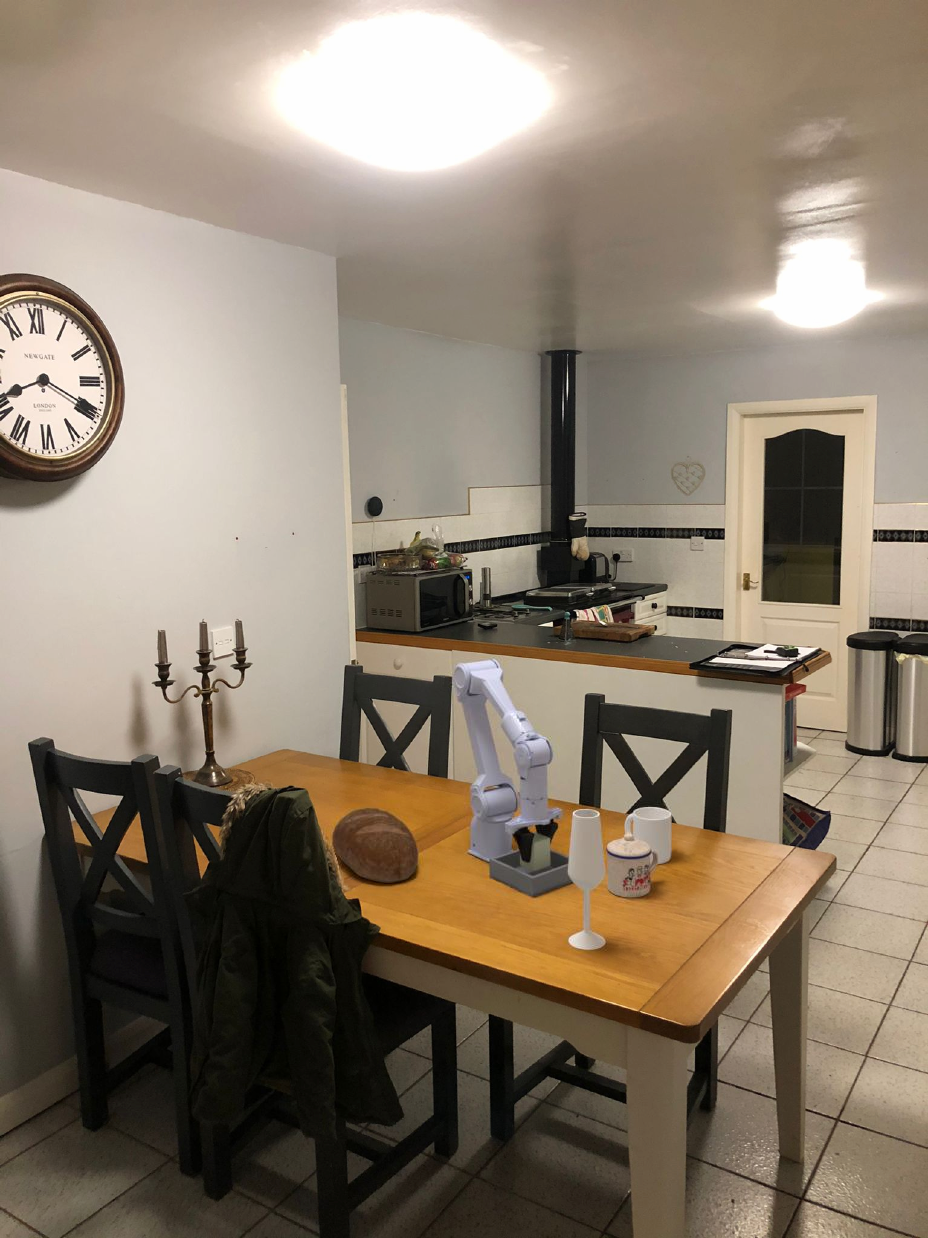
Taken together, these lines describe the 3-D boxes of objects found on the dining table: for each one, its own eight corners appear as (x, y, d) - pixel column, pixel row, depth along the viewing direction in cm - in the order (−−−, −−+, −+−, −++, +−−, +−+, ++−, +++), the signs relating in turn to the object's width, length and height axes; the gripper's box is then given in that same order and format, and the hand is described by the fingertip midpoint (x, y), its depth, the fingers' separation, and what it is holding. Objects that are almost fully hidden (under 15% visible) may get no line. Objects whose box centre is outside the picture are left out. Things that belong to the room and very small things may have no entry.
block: (520, 864, 201) (519, 837, 200) (535, 859, 204) (535, 832, 203) (534, 871, 197) (534, 843, 197) (550, 865, 200) (550, 838, 199)
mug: (613, 852, 214) (612, 808, 213) (638, 843, 219) (638, 800, 218) (653, 868, 205) (653, 822, 204) (679, 858, 210) (679, 813, 208)
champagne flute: (602, 932, 176) (601, 806, 173) (608, 949, 169) (608, 819, 166) (565, 933, 176) (564, 808, 173) (571, 950, 169) (570, 820, 166)
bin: (489, 877, 202) (489, 859, 202) (536, 860, 210) (536, 843, 210) (532, 897, 192) (532, 878, 191) (580, 879, 200) (580, 861, 199)
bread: (365, 893, 196) (363, 840, 195) (320, 847, 222) (318, 800, 221) (434, 877, 203) (432, 826, 202) (382, 835, 229) (380, 789, 228)
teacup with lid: (625, 902, 188) (625, 846, 187) (597, 886, 196) (597, 832, 195) (671, 889, 194) (672, 834, 193) (642, 874, 202) (642, 821, 200)
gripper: (520, 808, 191) (521, 873, 193) (572, 793, 200) (572, 855, 202) (497, 800, 197) (498, 862, 198) (549, 785, 205) (549, 845, 207)
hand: (534, 858), depth 200 cm, fingers closed on block, 4 cm apart
